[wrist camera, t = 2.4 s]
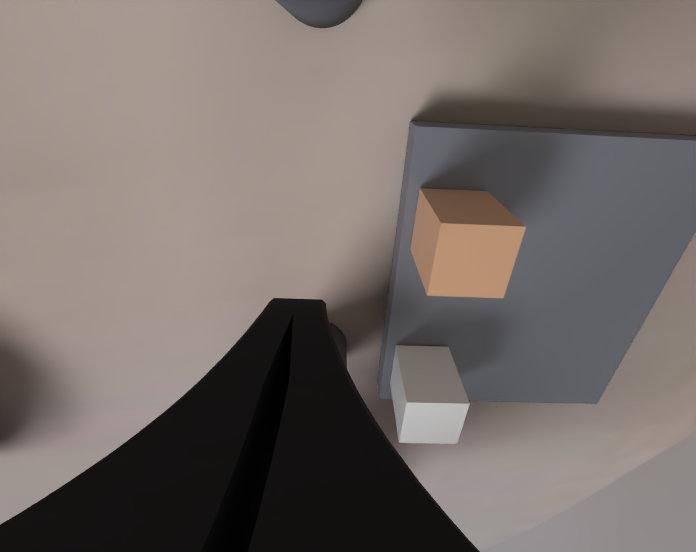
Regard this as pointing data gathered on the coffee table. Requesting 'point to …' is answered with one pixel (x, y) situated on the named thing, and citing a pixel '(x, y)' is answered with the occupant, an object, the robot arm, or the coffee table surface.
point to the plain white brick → (427, 395)
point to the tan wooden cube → (464, 243)
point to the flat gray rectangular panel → (546, 254)
